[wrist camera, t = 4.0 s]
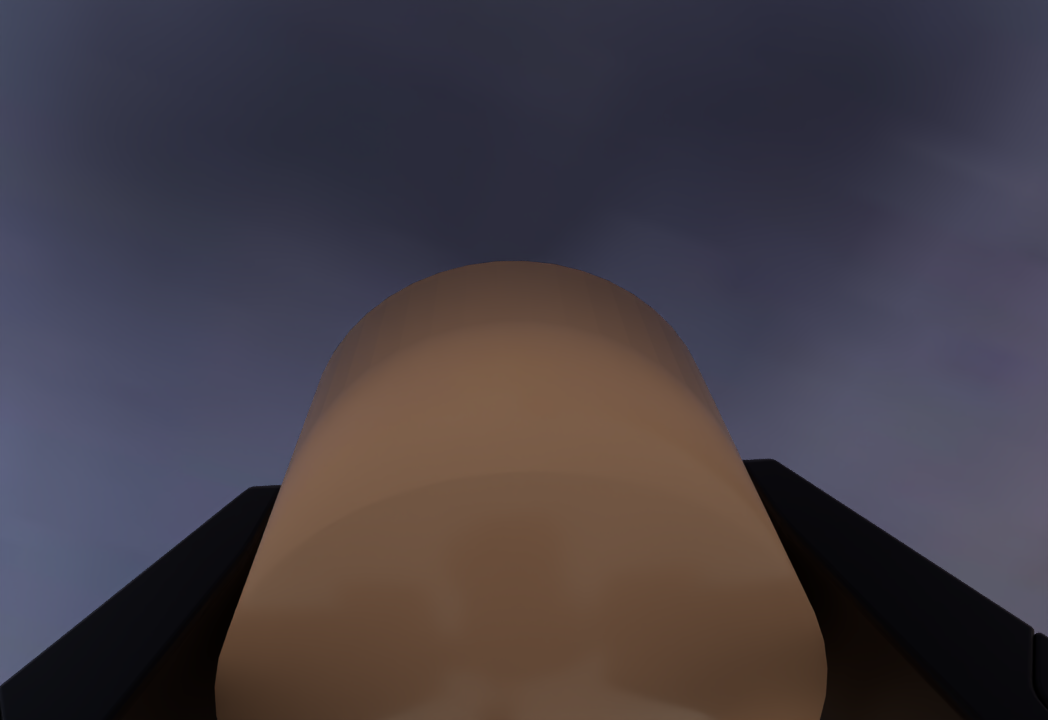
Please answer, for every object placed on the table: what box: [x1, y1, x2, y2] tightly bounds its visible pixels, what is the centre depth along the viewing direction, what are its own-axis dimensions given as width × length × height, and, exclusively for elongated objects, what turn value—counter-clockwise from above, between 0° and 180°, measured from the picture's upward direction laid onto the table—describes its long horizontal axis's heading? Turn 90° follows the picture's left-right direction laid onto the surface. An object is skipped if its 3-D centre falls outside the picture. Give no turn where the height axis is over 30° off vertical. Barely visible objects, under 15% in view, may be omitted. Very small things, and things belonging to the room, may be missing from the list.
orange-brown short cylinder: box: [215, 261, 828, 720], centre depth 9 cm, size 5×5×4 cm
